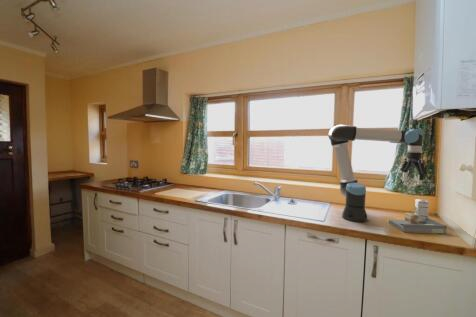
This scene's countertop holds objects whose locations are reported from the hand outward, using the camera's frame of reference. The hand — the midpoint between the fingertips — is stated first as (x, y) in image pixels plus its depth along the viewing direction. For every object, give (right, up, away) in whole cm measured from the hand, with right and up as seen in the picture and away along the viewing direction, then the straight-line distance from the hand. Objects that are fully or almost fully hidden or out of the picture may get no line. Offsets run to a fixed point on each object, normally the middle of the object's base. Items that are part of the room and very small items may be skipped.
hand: (411, 183), depth 153 cm
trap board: (-13, -25, -19) cm, 34 cm away
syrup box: (-1, -25, -9) cm, 26 cm away
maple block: (-13, -22, -16) cm, 30 cm away
